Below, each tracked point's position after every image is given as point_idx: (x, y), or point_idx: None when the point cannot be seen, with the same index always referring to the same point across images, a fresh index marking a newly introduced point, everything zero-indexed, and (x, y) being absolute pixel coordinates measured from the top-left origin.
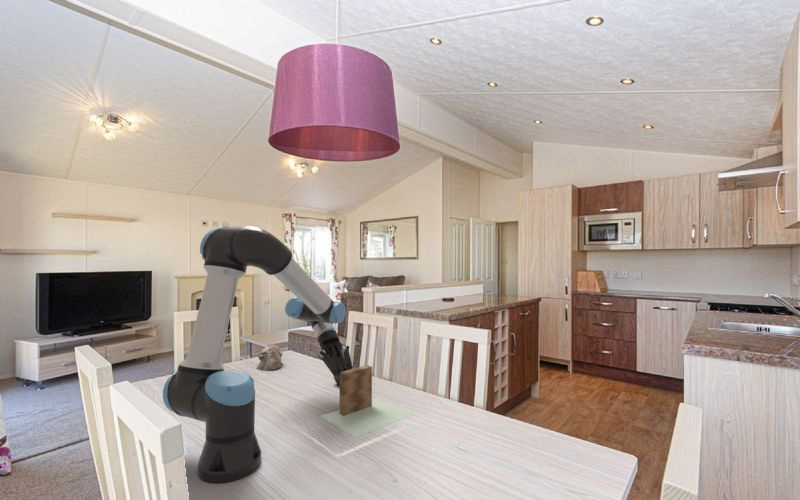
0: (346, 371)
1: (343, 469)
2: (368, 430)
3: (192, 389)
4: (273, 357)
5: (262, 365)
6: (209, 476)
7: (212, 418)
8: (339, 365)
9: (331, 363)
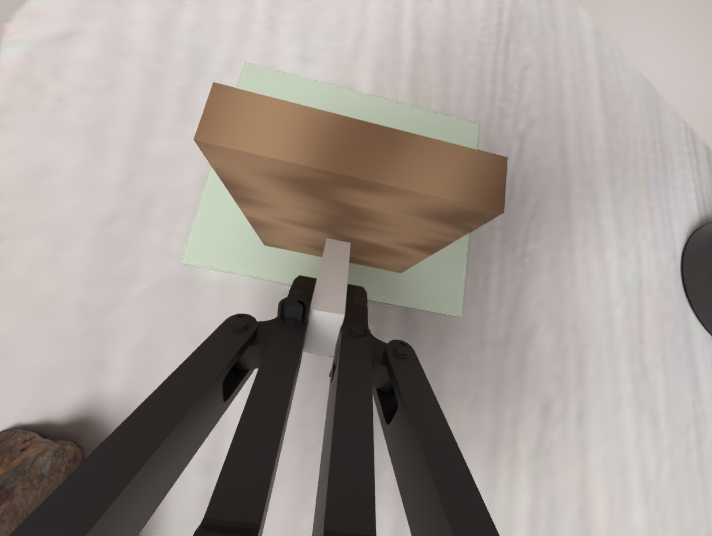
0: (453, 180)
1: (570, 79)
2: (427, 117)
3: None
4: None
5: None
6: None
7: None
8: (353, 381)
9: (440, 438)
